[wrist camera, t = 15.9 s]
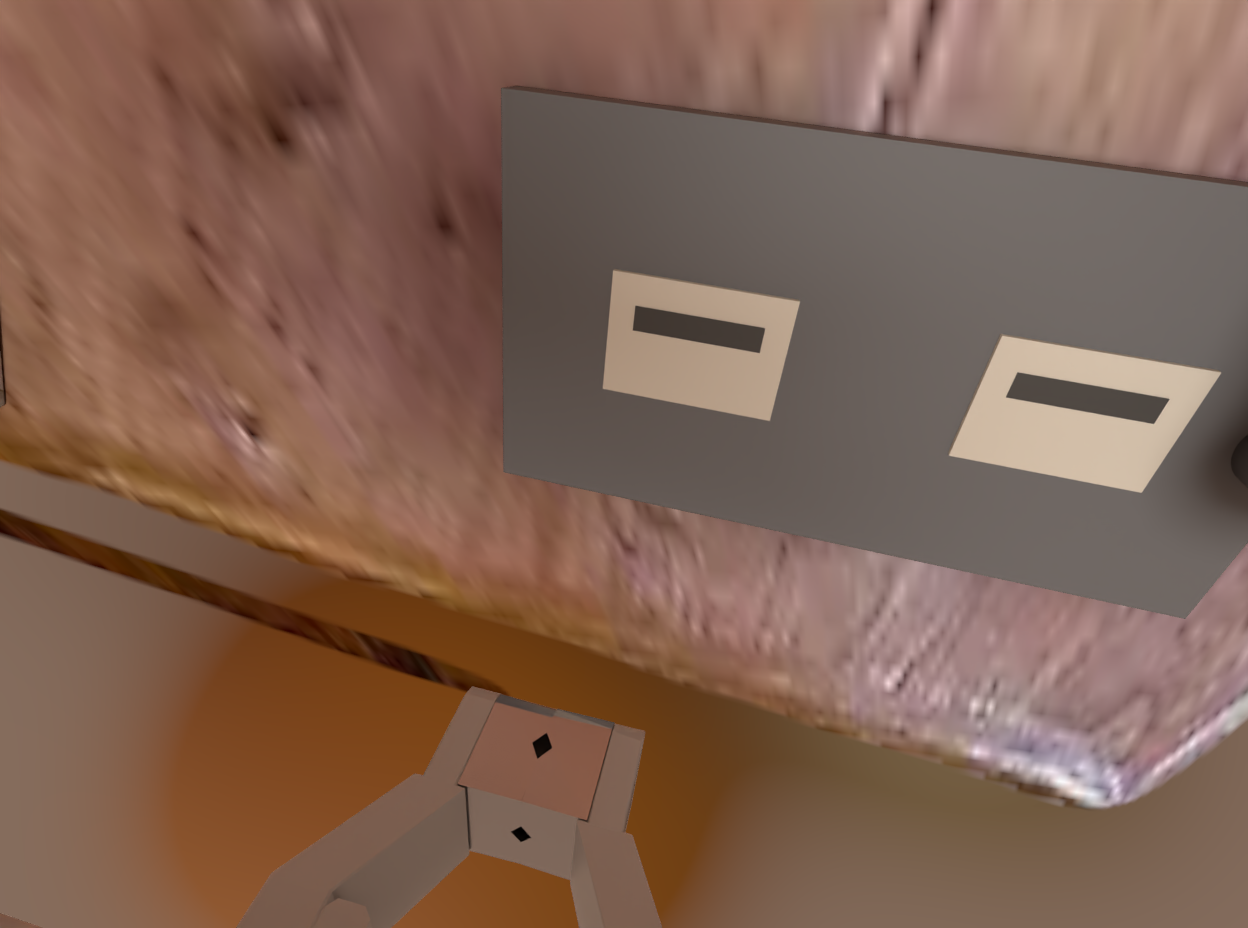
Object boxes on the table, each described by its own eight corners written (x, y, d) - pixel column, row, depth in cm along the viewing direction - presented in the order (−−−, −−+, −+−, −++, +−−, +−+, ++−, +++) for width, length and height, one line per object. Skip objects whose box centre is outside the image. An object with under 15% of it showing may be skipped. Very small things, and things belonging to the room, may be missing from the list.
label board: (514, 455, 32) (473, 515, 28) (516, 86, 24) (456, 93, 19) (1181, 596, 28) (1245, 689, 24) (1484, 213, 20) (1667, 257, 15)
